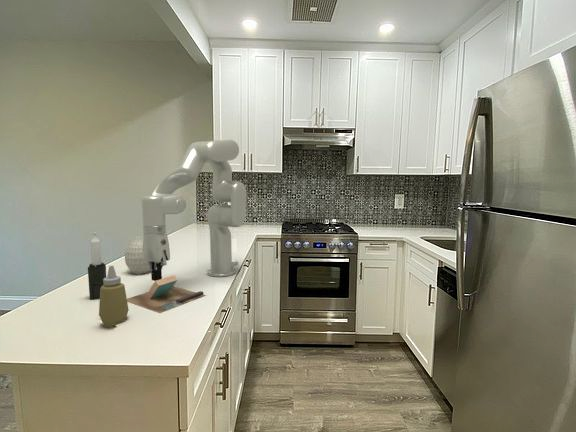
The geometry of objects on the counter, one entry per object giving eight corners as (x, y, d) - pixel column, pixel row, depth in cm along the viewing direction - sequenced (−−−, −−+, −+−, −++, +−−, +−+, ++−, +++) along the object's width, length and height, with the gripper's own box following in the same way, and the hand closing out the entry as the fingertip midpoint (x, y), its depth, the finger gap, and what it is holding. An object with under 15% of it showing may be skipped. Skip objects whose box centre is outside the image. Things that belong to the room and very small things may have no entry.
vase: (155, 274, 158) (154, 238, 156) (124, 277, 153) (122, 240, 151) (155, 267, 170) (153, 234, 168) (126, 270, 165) (124, 235, 163)
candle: (89, 303, 123) (84, 233, 120) (93, 298, 128) (88, 231, 125) (105, 302, 124) (100, 232, 121) (108, 297, 129) (104, 230, 126)
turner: (197, 292, 130) (197, 290, 130) (206, 295, 128) (206, 292, 128) (158, 307, 116) (158, 304, 116) (167, 310, 114) (167, 307, 114)
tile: (165, 288, 131) (174, 275, 127) (168, 292, 130) (177, 280, 127) (146, 294, 124) (155, 280, 121) (149, 299, 124) (158, 285, 120)
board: (169, 288, 139) (169, 285, 139) (206, 298, 128) (206, 295, 128) (122, 303, 123) (122, 300, 123) (160, 316, 111) (159, 313, 111)
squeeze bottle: (121, 316, 112) (118, 261, 110) (134, 323, 107) (131, 265, 104) (95, 324, 106) (91, 266, 103) (106, 332, 100) (103, 271, 98)
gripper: (176, 230, 124) (178, 280, 126) (151, 227, 132) (153, 274, 134) (158, 233, 118) (160, 286, 120) (132, 229, 126) (135, 278, 128)
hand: (156, 279), depth 127 cm, fingers closed
